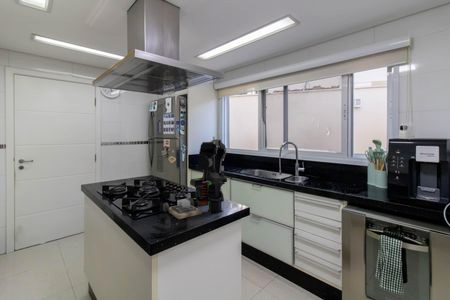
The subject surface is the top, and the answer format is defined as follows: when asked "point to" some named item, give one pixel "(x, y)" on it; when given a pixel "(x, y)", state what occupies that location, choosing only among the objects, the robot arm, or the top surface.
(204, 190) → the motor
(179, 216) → the chassis
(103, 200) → the top surface
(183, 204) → the block
